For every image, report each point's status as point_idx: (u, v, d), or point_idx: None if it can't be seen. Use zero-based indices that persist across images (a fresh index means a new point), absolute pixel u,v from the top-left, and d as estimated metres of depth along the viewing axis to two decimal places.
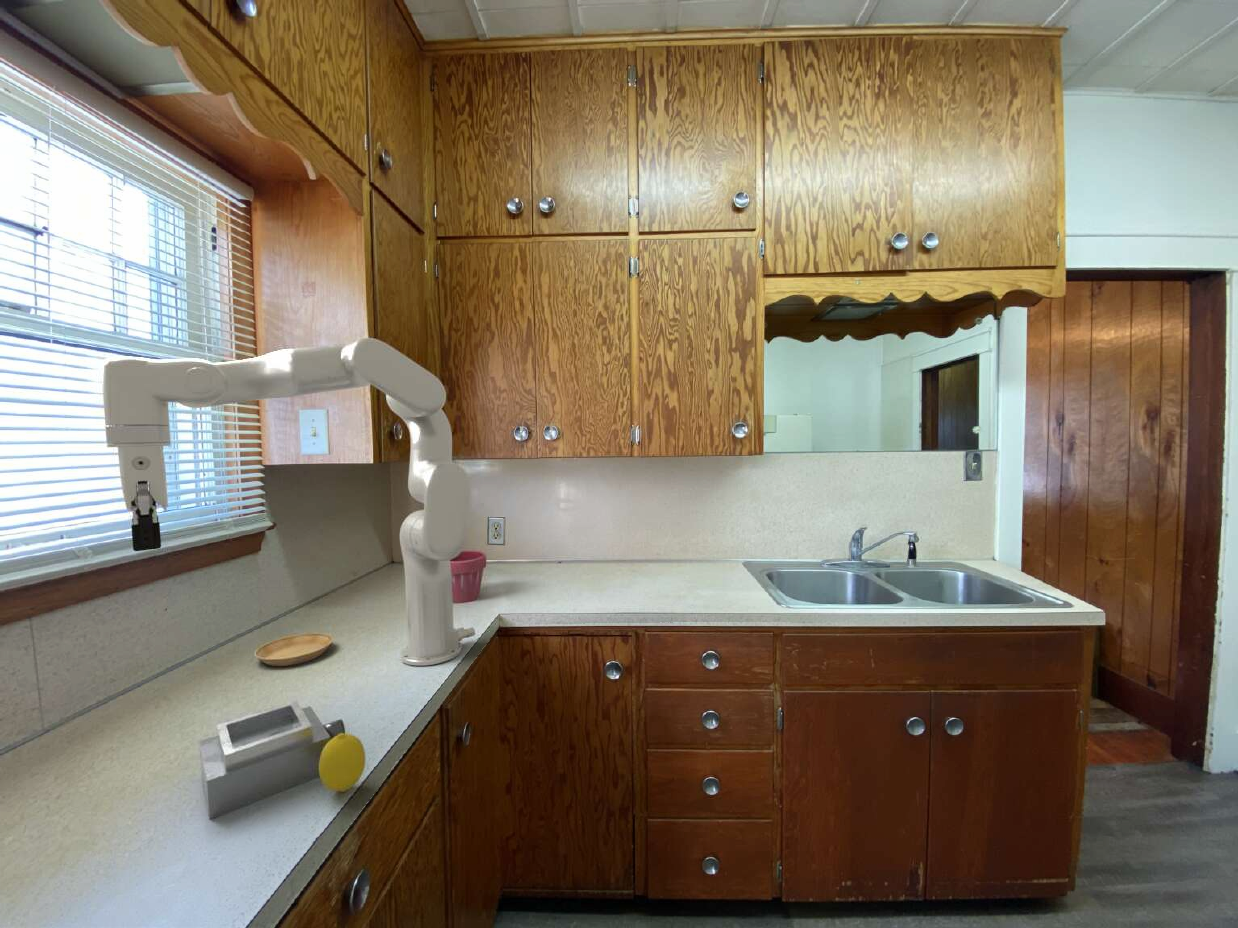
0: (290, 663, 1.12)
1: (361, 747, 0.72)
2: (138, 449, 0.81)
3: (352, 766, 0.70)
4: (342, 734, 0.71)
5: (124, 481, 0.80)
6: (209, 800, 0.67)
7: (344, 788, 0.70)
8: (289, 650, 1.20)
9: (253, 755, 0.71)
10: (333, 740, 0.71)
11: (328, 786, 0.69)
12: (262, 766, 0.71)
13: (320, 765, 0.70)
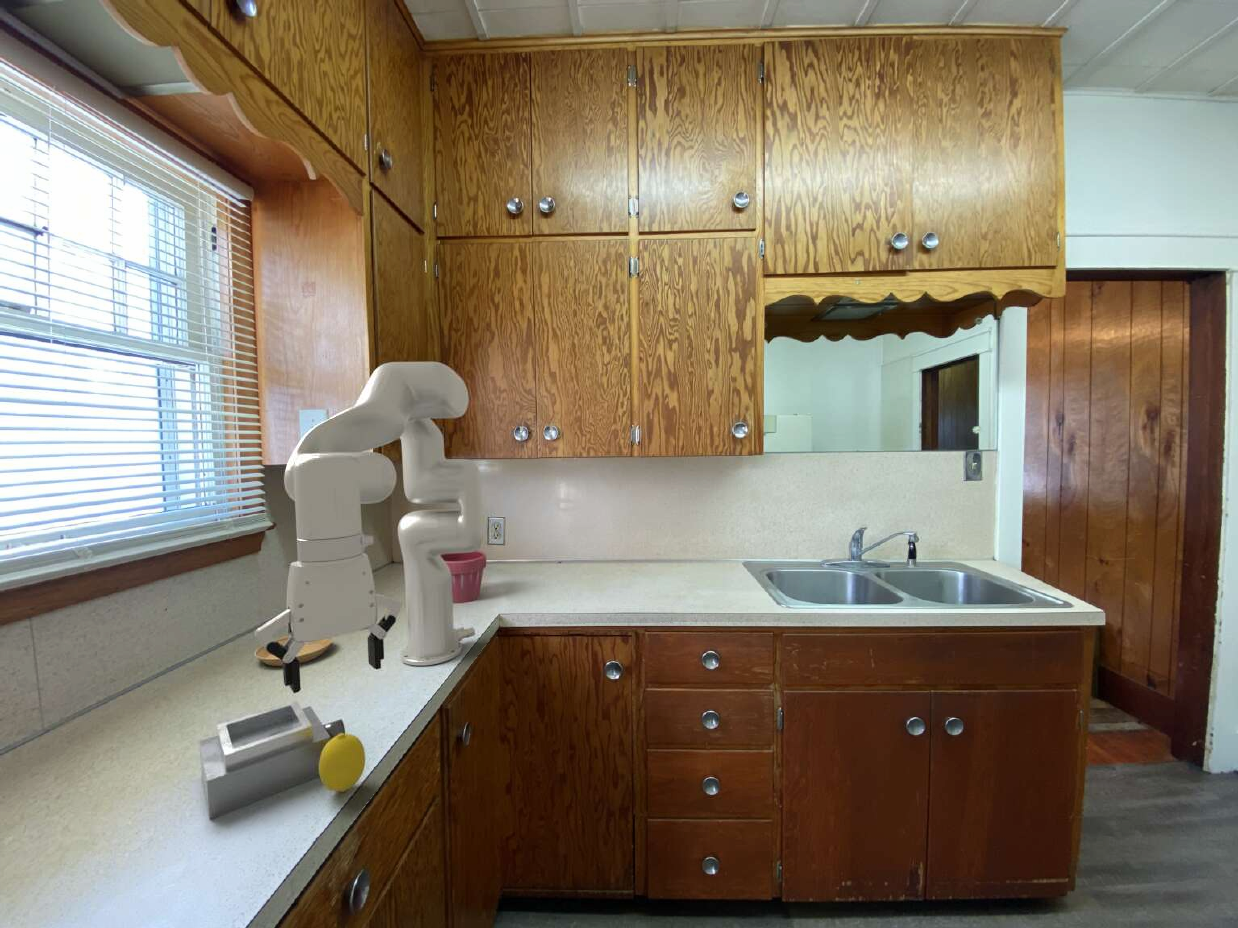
0: None
1: (361, 747, 0.72)
2: None
3: (352, 766, 0.70)
4: (342, 734, 0.71)
5: (374, 594, 0.72)
6: (209, 800, 0.67)
7: (344, 788, 0.70)
8: None
9: (253, 755, 0.71)
10: (333, 740, 0.71)
11: (328, 786, 0.69)
12: (262, 766, 0.71)
13: (320, 765, 0.70)
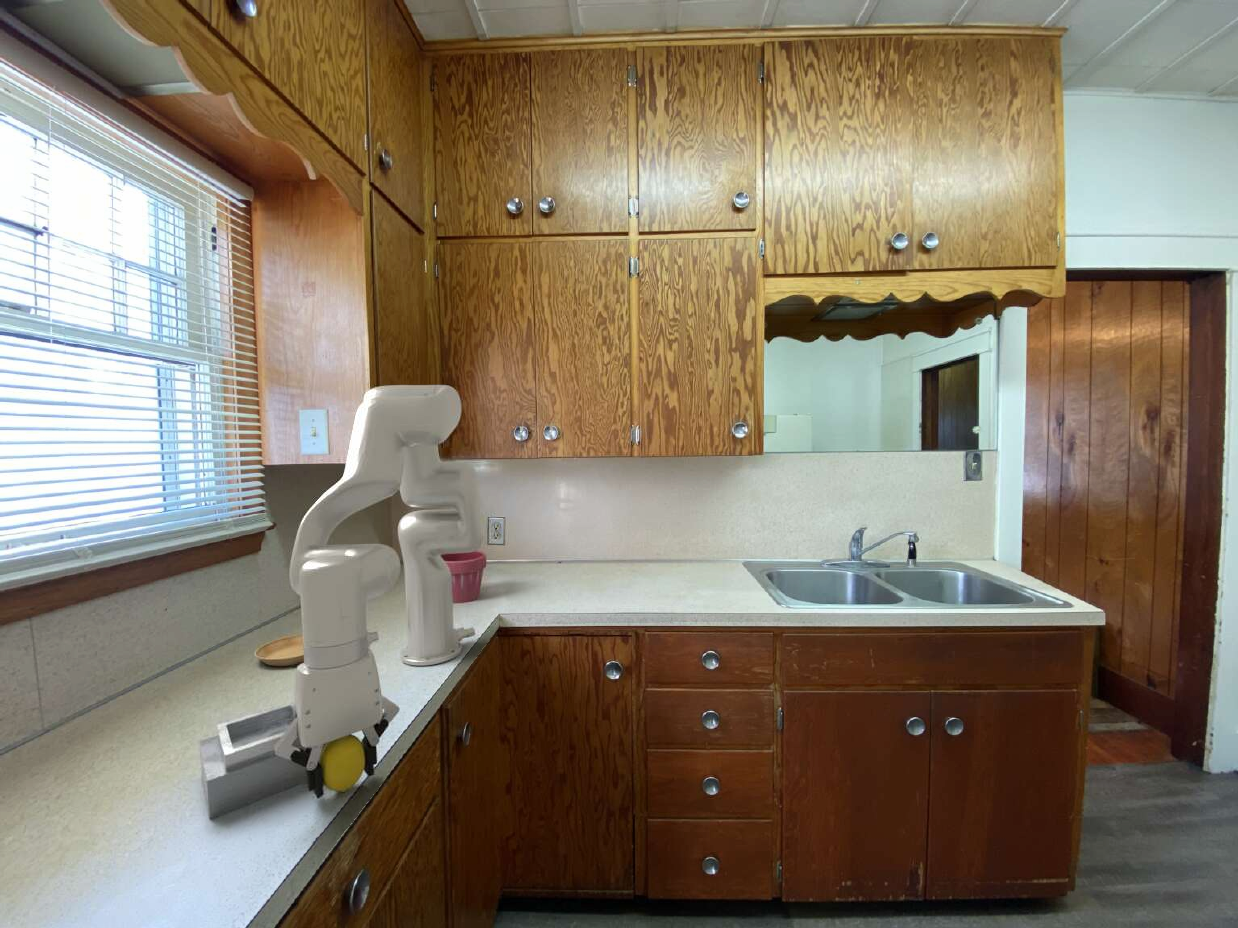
0: (290, 663, 1.12)
1: (361, 747, 0.72)
2: None
3: (352, 766, 0.70)
4: None
5: (379, 691, 0.73)
6: (209, 800, 0.67)
7: (344, 788, 0.70)
8: (289, 650, 1.20)
9: (253, 755, 0.71)
10: None
11: (328, 786, 0.69)
12: (262, 766, 0.71)
13: None
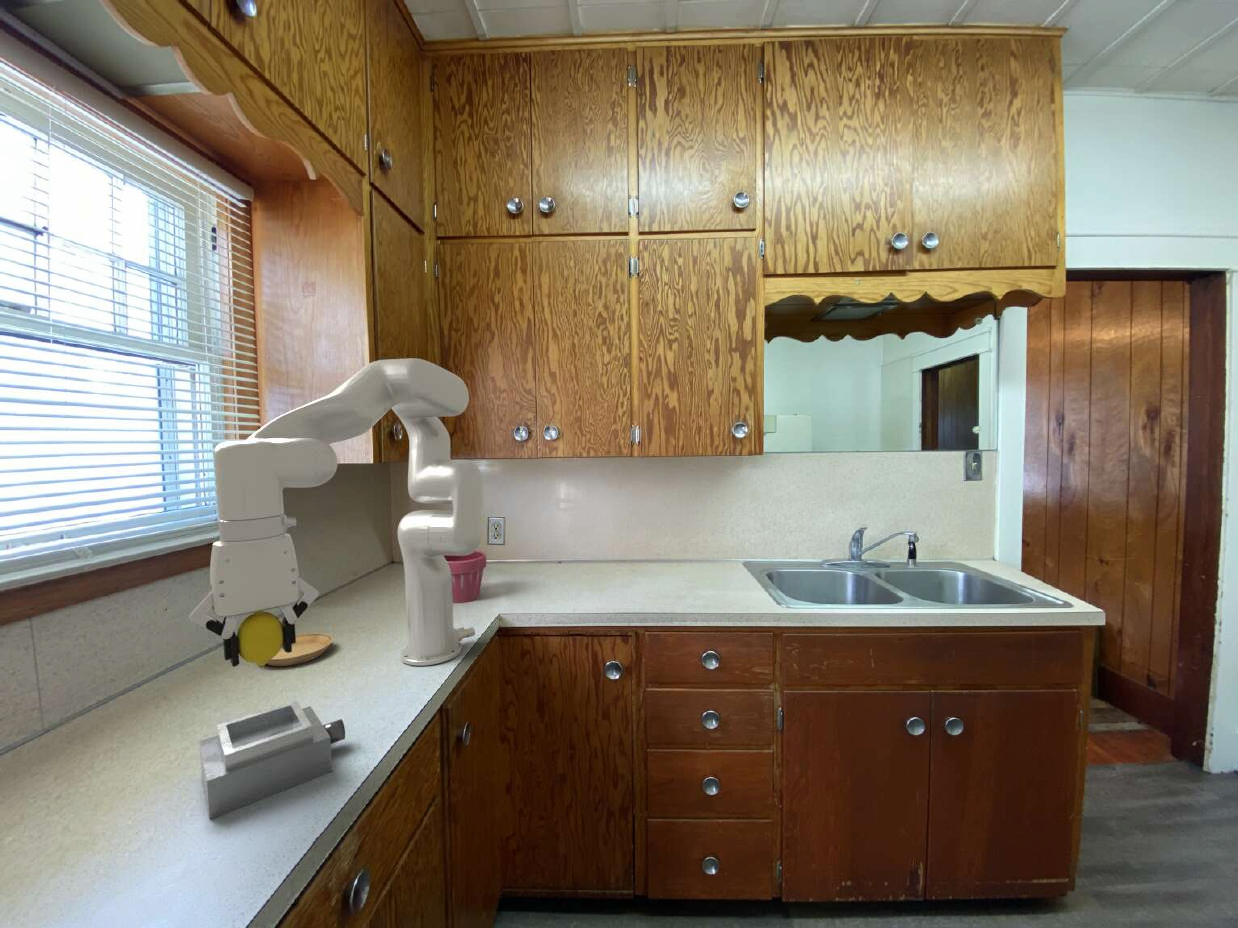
0: (290, 663, 1.12)
1: (279, 624, 0.76)
2: None
3: (268, 638, 0.73)
4: None
5: (296, 572, 0.76)
6: (209, 800, 0.67)
7: (260, 660, 0.74)
8: None
9: (253, 755, 0.71)
10: (250, 615, 0.74)
11: (244, 657, 0.73)
12: (262, 766, 0.71)
13: (237, 637, 0.73)
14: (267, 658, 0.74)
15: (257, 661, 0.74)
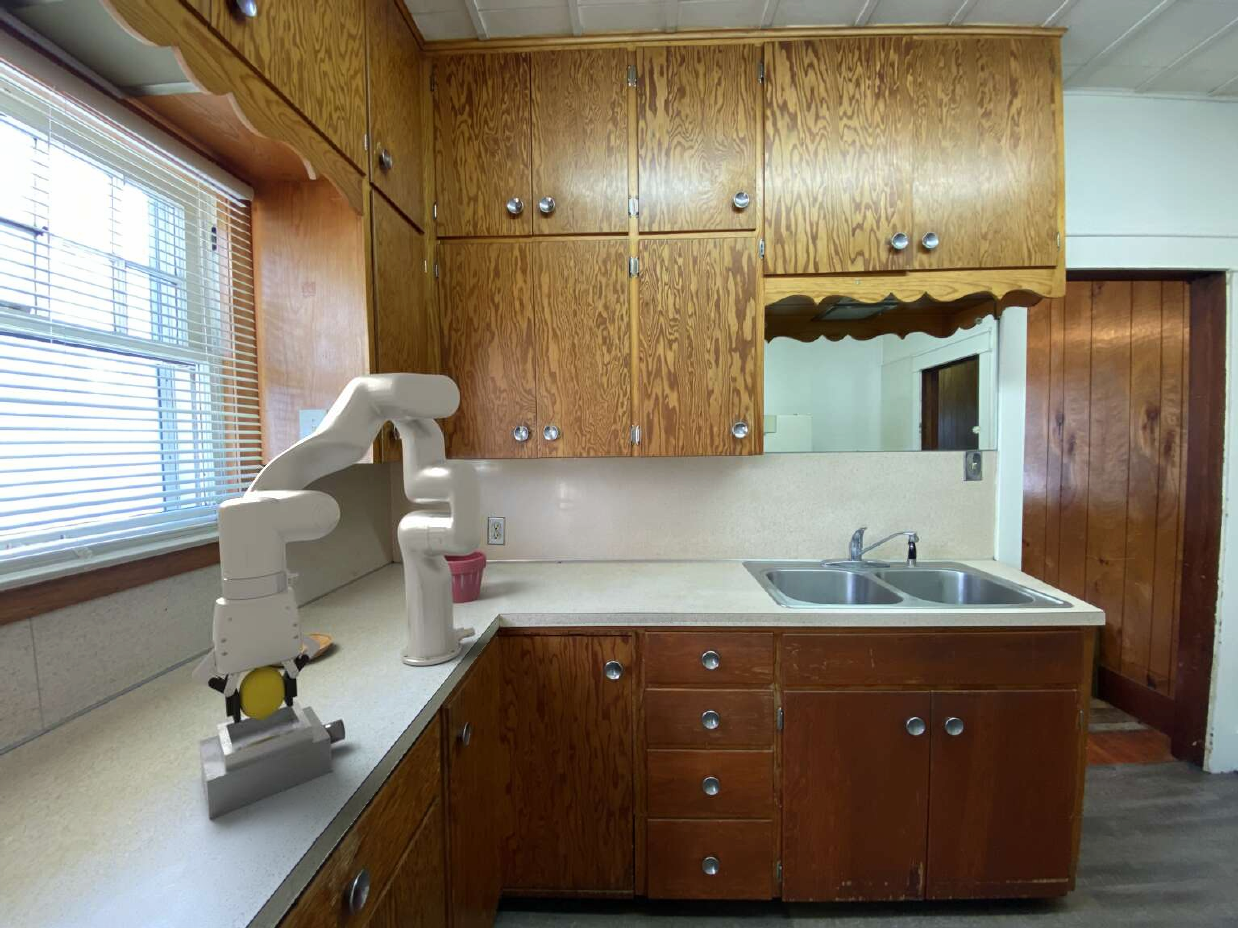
0: None
1: (280, 678, 0.76)
2: None
3: (269, 694, 0.74)
4: None
5: (298, 626, 0.77)
6: (209, 800, 0.67)
7: (262, 715, 0.74)
8: None
9: (253, 755, 0.71)
10: (252, 671, 0.75)
11: (246, 713, 0.73)
12: (262, 766, 0.71)
13: (239, 693, 0.74)
14: (269, 714, 0.74)
15: (259, 717, 0.74)
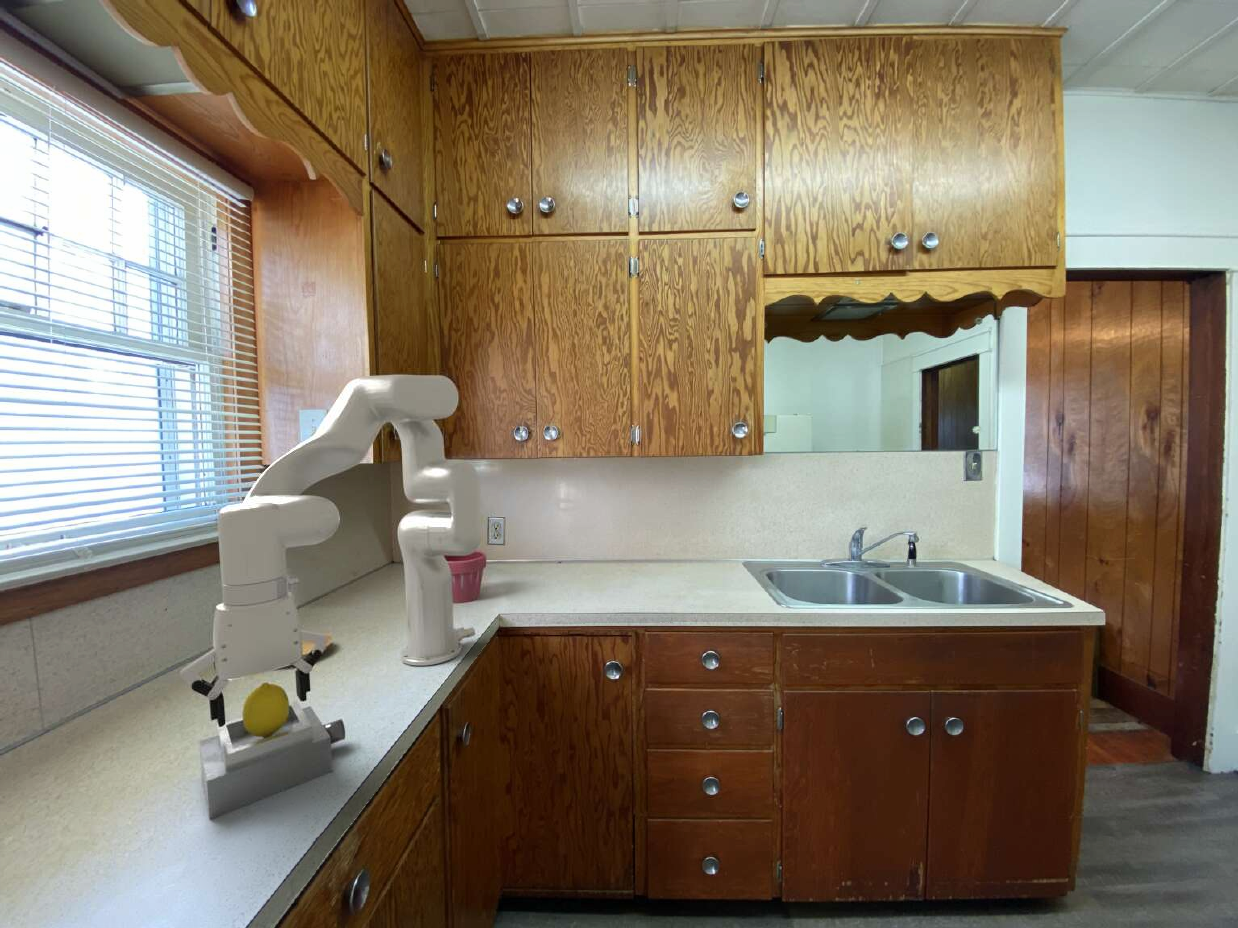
0: None
1: (284, 696, 0.76)
2: None
3: (273, 712, 0.74)
4: (266, 683, 0.76)
5: (298, 631, 0.77)
6: (209, 800, 0.67)
7: (266, 733, 0.74)
8: None
9: (253, 755, 0.71)
10: (257, 689, 0.75)
11: (250, 731, 0.74)
12: (262, 766, 0.71)
13: (243, 711, 0.74)
14: (272, 731, 0.75)
15: (262, 735, 0.74)
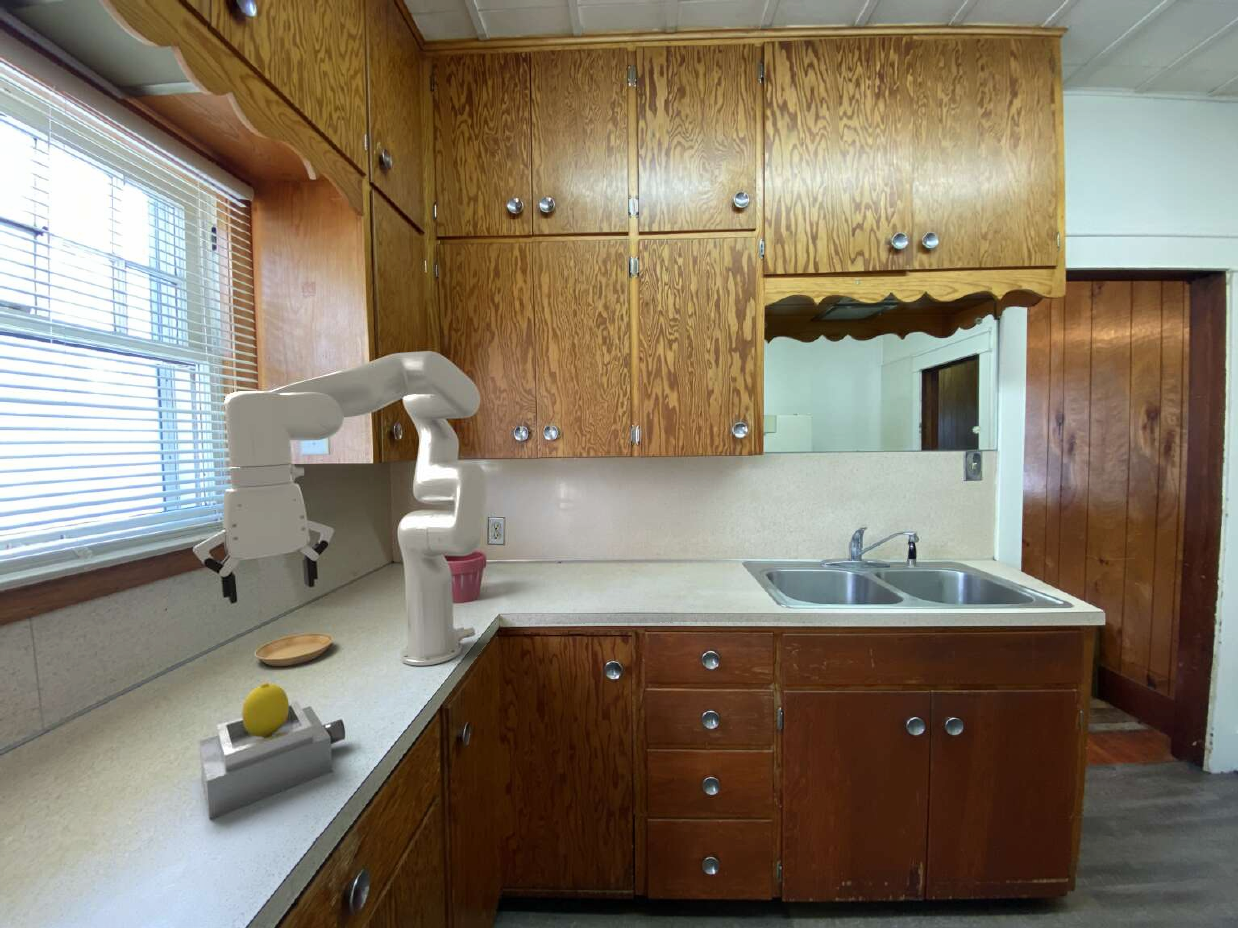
0: (290, 663, 1.12)
1: (284, 696, 0.76)
2: None
3: (273, 712, 0.74)
4: (265, 684, 0.76)
5: (305, 519, 0.79)
6: (209, 800, 0.67)
7: (266, 734, 0.74)
8: (289, 650, 1.20)
9: (253, 755, 0.71)
10: (256, 689, 0.75)
11: (250, 731, 0.74)
12: (262, 766, 0.71)
13: (243, 712, 0.74)
14: (272, 731, 0.75)
15: (262, 735, 0.74)
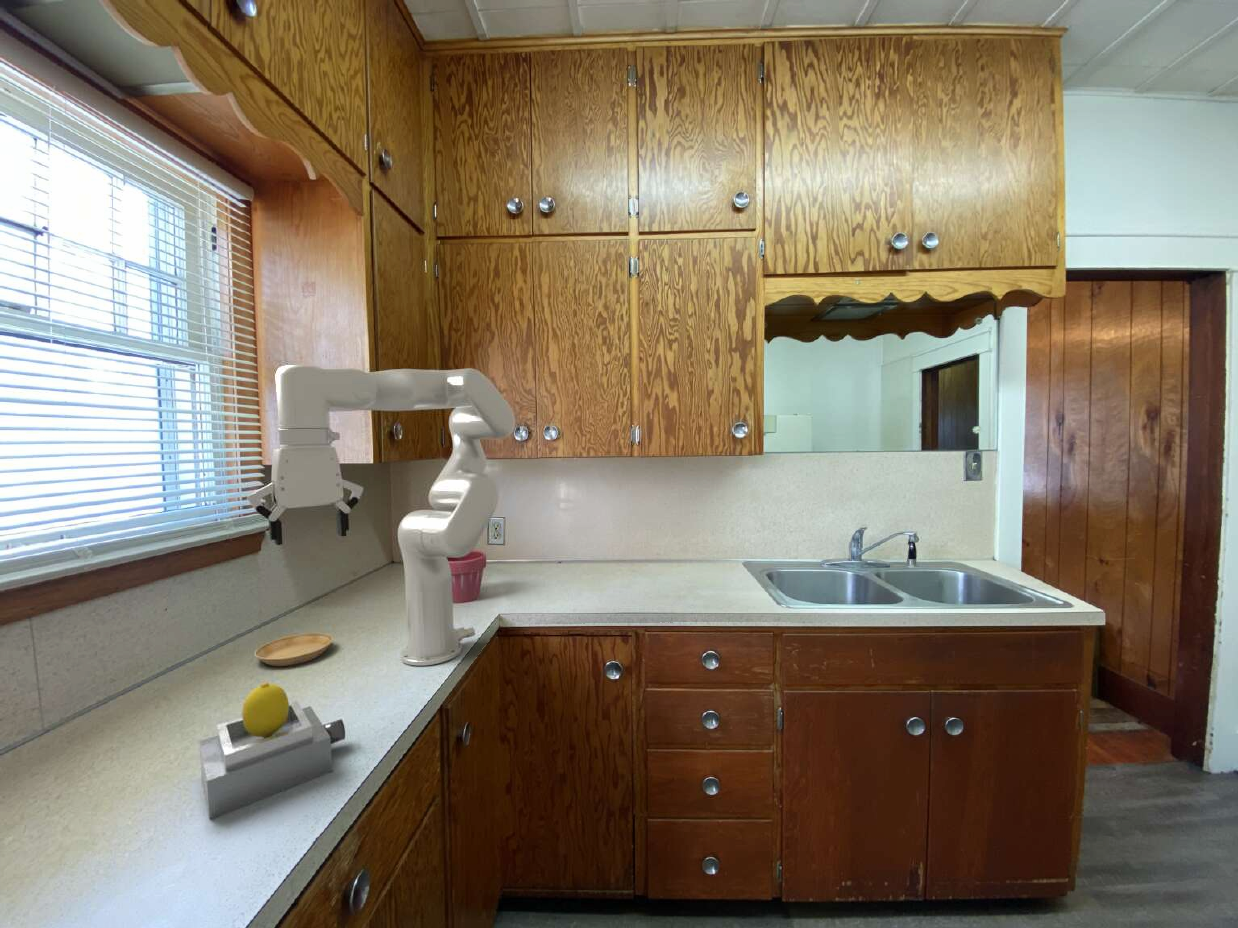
0: (290, 663, 1.12)
1: (284, 696, 0.76)
2: None
3: (273, 712, 0.74)
4: (265, 684, 0.76)
5: (340, 476, 0.92)
6: (209, 800, 0.67)
7: (266, 734, 0.74)
8: (289, 650, 1.20)
9: (253, 755, 0.71)
10: (256, 689, 0.75)
11: (250, 731, 0.74)
12: (262, 766, 0.71)
13: (243, 712, 0.74)
14: (272, 732, 0.75)
15: (262, 735, 0.74)
